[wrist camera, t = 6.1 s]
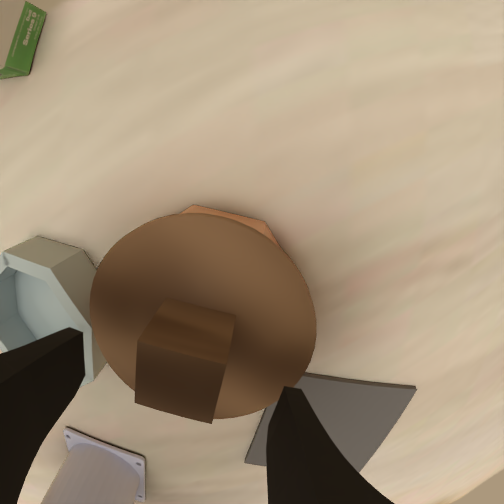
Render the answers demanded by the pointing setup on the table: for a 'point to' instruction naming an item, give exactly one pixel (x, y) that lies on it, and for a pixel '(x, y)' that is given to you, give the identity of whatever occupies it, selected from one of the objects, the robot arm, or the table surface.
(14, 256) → the bowl slate
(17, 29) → the ink box
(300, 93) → the table surface
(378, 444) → the mat
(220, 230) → the lid
